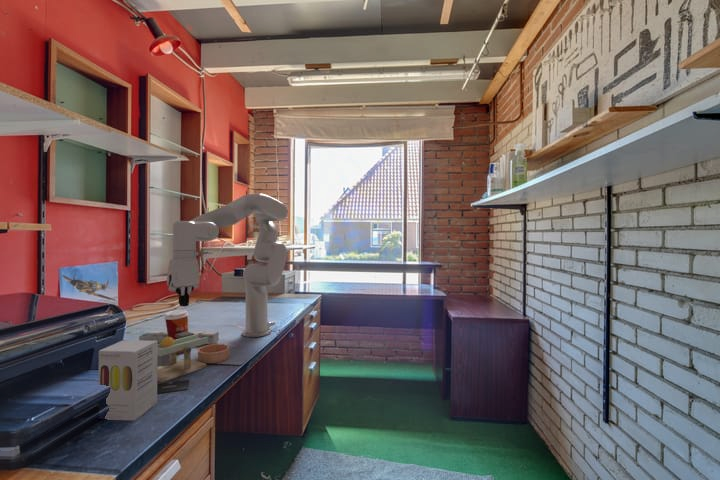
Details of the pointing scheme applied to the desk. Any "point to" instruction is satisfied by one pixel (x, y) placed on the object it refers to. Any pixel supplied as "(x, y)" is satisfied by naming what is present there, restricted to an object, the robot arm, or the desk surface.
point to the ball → (167, 342)
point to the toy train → (212, 336)
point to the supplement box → (129, 378)
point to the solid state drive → (172, 386)
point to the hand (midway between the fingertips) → (183, 305)
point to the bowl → (213, 353)
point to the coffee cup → (176, 323)
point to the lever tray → (178, 346)
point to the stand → (178, 366)
